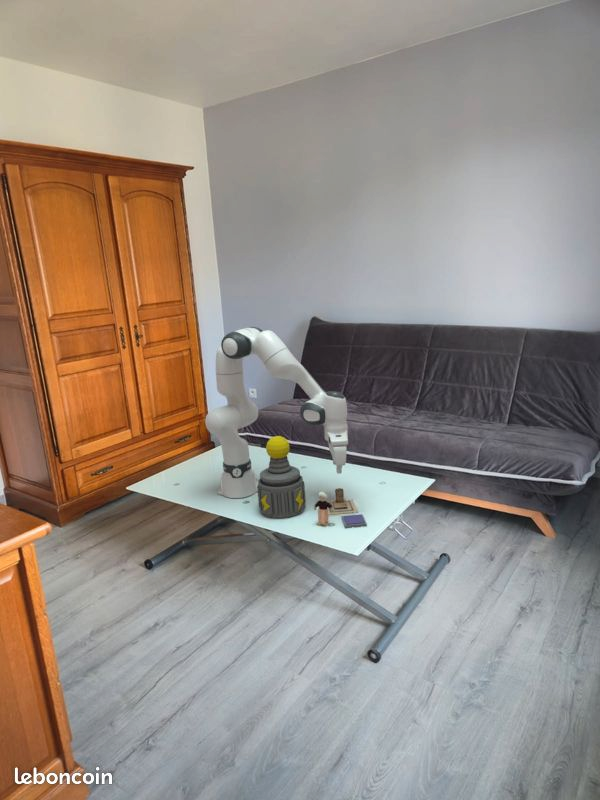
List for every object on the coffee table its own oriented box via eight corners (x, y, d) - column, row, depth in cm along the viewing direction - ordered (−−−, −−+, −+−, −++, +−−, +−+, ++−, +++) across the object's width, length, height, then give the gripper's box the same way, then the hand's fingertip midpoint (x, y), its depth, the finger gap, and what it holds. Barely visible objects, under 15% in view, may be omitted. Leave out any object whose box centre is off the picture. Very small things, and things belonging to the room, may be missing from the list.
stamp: (332, 504, 213) (332, 488, 212) (345, 503, 213) (344, 486, 212) (334, 509, 208) (333, 492, 207) (347, 508, 209) (346, 491, 207)
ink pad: (341, 518, 201) (341, 515, 201) (362, 516, 202) (362, 513, 201) (344, 528, 193) (344, 525, 193) (366, 526, 194) (366, 522, 194)
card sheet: (323, 502, 216) (323, 501, 216) (352, 499, 217) (352, 498, 217) (326, 515, 205) (326, 514, 205) (358, 512, 205) (358, 511, 205)
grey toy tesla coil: (280, 495, 226) (275, 427, 219) (316, 505, 214) (311, 433, 207) (248, 512, 212) (242, 439, 205) (285, 524, 200) (279, 447, 193)
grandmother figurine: (313, 526, 196) (311, 494, 194) (314, 521, 200) (312, 489, 197) (334, 526, 195) (332, 494, 192) (335, 522, 199) (333, 489, 196)
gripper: (324, 426, 214) (325, 459, 217) (331, 443, 194) (332, 478, 198) (340, 425, 214) (341, 458, 218) (348, 441, 195) (349, 477, 198)
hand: (337, 468), depth 208 cm, fingers open, 8 cm apart
